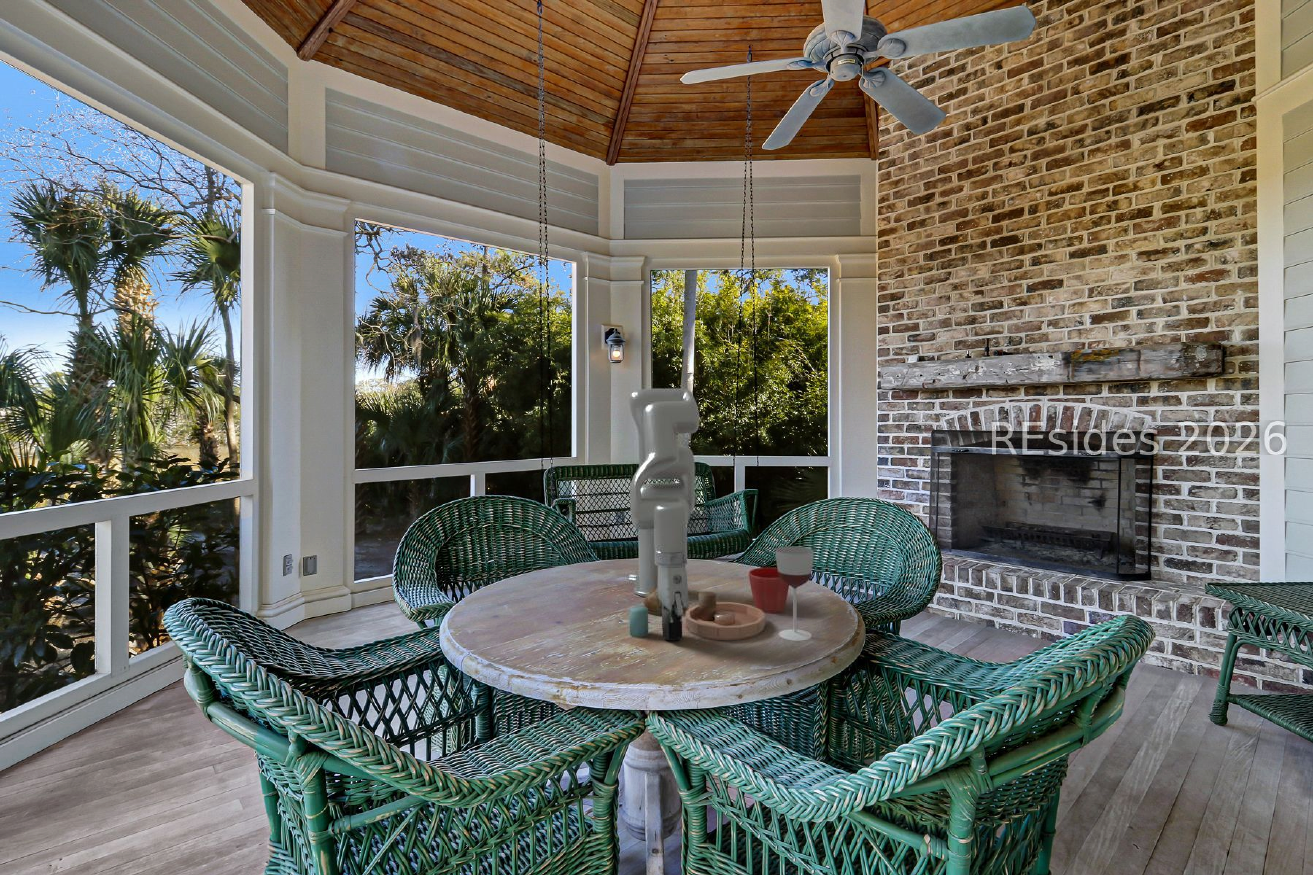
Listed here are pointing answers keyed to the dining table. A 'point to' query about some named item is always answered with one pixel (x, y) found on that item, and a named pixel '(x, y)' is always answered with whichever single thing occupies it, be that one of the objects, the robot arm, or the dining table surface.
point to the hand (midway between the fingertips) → (672, 633)
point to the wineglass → (794, 580)
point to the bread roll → (653, 603)
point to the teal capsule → (638, 621)
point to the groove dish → (727, 622)
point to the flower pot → (768, 590)
